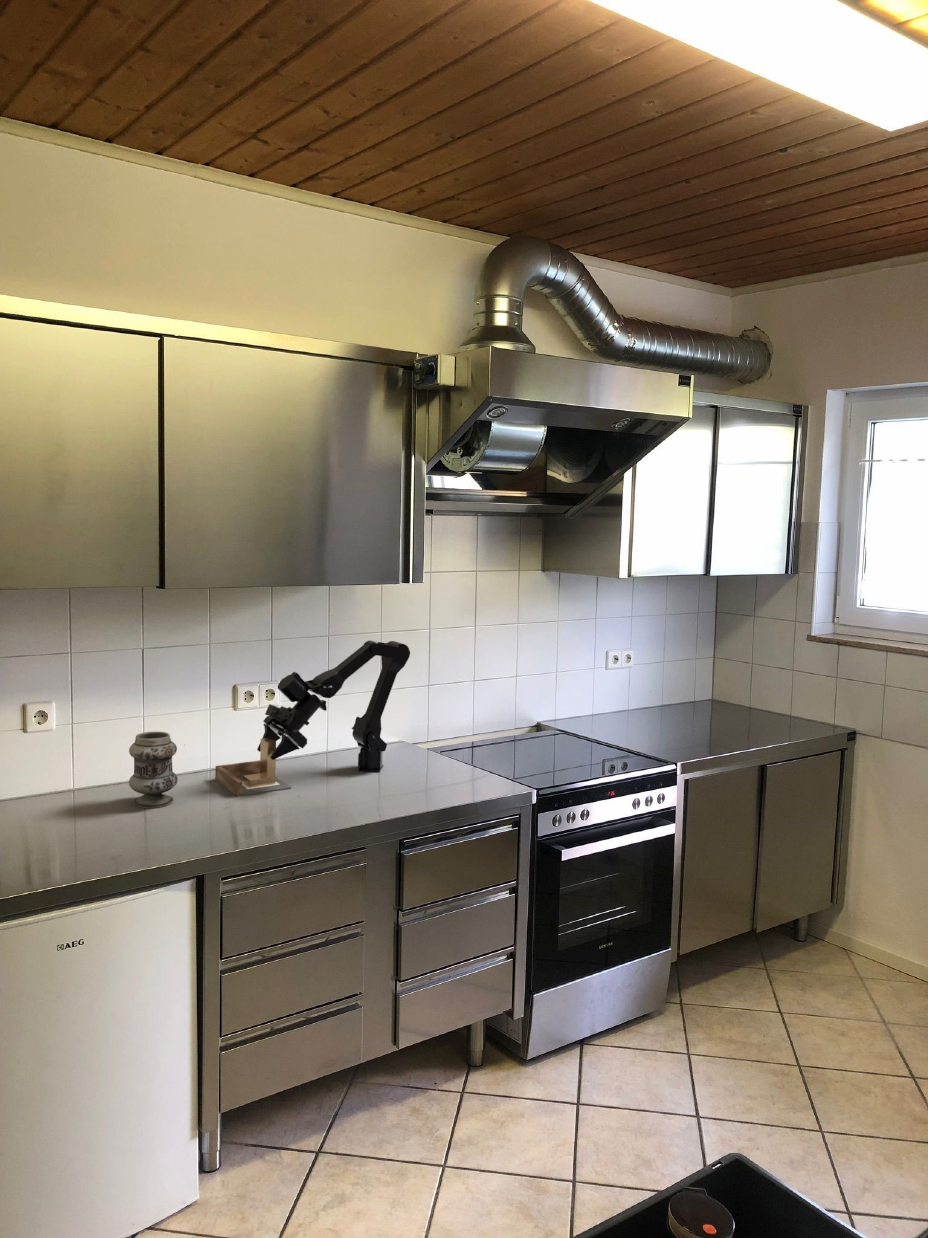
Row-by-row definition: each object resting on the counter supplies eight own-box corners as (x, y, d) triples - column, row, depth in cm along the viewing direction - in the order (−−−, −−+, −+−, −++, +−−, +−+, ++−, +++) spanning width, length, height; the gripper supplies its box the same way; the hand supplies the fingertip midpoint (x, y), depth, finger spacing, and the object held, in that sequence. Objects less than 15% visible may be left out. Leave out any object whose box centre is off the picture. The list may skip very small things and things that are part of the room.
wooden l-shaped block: (268, 779, 272) (268, 737, 270) (275, 783, 268) (276, 742, 266) (243, 782, 268) (243, 740, 266) (249, 787, 264) (250, 745, 262)
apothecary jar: (158, 792, 258) (158, 726, 256) (187, 801, 251) (187, 734, 249) (119, 802, 249) (118, 734, 246) (148, 813, 242) (148, 743, 239)
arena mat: (268, 774, 278) (268, 772, 278) (291, 788, 266) (291, 786, 266) (222, 780, 271) (222, 778, 270) (242, 795, 258) (242, 794, 258)
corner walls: (266, 772, 280) (267, 759, 279) (291, 788, 266) (291, 774, 265) (215, 779, 271) (215, 766, 270) (237, 796, 257) (237, 782, 257)
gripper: (270, 688, 276) (233, 729, 271) (297, 701, 261) (258, 745, 256) (295, 712, 282) (259, 753, 277) (323, 726, 266) (285, 770, 262)
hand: (264, 754), depth 268 cm, fingers open, 9 cm apart
